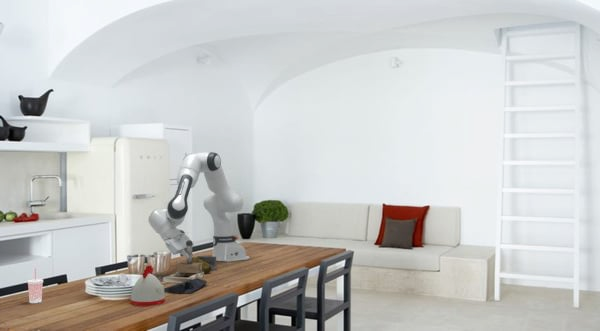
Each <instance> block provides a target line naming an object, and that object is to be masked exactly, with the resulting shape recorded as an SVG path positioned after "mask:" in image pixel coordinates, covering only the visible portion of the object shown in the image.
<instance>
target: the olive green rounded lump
mask: <svg viewBox="0 0 600 331" xmlns="http://www.w3.org/2000/svg"><path fill="white" fill-rule="evenodd" d="M192 262H193V263H202V271H201V272H204V274H209V272H211V271H212V270H211V266H210V265H209V264H208V263H206V262H204V261H202V260H200V259H199V258H197V257H195V256H192Z"/></svg>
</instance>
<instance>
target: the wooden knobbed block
mask: <svg viewBox="0 0 600 331" xmlns="http://www.w3.org/2000/svg"><path fill="white" fill-rule="evenodd" d="M193 244H194V242H193V241H192V239H190V240H188V241H187V242H186V246H187V252H186V253H187V254H189V255H190V257H189V258H186V261H185V262H180V263H178V264H176V273H177V272H179V273H184V274H185V275H191V276H193V275H195V274H197V273H199V272H201V271H202V263H193V262H192V257H193V256H192V253H193V247H192V245H193Z"/></svg>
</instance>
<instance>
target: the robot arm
mask: <svg viewBox="0 0 600 331" xmlns="http://www.w3.org/2000/svg"><path fill="white" fill-rule="evenodd" d="M221 164H222V159H221V156H220V155H219V153H217V152H213V151H210V152H206V151H205V152H196V153H189V154H186V155H185V156H184V157H183V160H182V162H181V164H180V167H179V170H178V173H177V176H176V183H177V189H176V191H175V195H174V196H173V198H171V199H170V201H169V202H168V204H167V208H164V209H154V210H153V211H152V212H151V213H150V215H149V217H148V224H149V225H150V227H151V228H152V229H153V230H154V231H155V233H157V234H158V235H159V236H160V238H161V240H163V241H164V243H165V246H166V248H167V249H168V250H169V252H170V253H171V254H172V255H175V256H176V255H178V254H180V255H181V256H183V257H184V258H186V259H187V258H189V257H190V255H189V254H187V246H186V242H187V241H188V240H191V239H190V237H188V235H186V232H185V231H184V230H182V229H179V228H177V227H178V226H180V225H182V223H183V222H184V220H185V218H186V214H187V213H188V211H189V210H188V209H189V205H188V197H189V193H190V190H191V189H192V188H194V187H195V186H196V183H197V182H198V180H199V176H200V173H203V174H204V175H203V176H204V178H205V182H206V184H207V188H208V190H210V192H211V193H209V194H207V195H206V196H205V197H204V198H203V207H204V209H205V210H206V211H207V212H208V213H209V214H210V217H211V219H212V222H213V236H212V237H213V238H212V244H213V249H212V255H211V256H214V257H216V262H228V263H229V262H236V261H237V262H239V261H246V260H247V261H248V260H250V256H249V255H247V252H246V249H245V248H244V246H242V245H241V244H240V243H238V242H237V241H238V240H239V236H237V235H234V233H233V231H234V229H233V227H234V224H233V221H232V220H231V219H230V218H229V217H228V216H227V213H229V214H232V213H238V212H240V211H241V210H242V209H243V208H244V200H243V197H242V196H241V195H239V194H238V193H236V192H235V191H234V190H233V189H232V188H231V186H230V185H229V183H228V181H227V179H226V175H225V173H224V169H223V167H222V165H221ZM193 247H194V243H193V245H192V248H193ZM192 257H194V253H193V252H192Z"/></svg>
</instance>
